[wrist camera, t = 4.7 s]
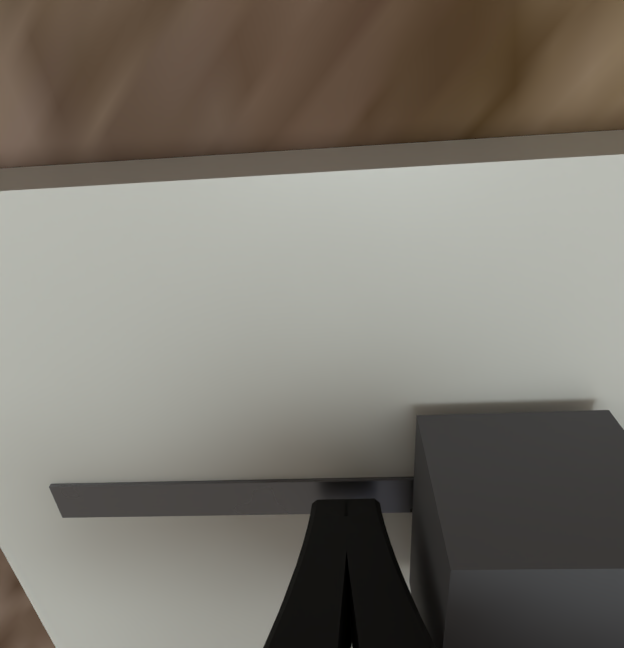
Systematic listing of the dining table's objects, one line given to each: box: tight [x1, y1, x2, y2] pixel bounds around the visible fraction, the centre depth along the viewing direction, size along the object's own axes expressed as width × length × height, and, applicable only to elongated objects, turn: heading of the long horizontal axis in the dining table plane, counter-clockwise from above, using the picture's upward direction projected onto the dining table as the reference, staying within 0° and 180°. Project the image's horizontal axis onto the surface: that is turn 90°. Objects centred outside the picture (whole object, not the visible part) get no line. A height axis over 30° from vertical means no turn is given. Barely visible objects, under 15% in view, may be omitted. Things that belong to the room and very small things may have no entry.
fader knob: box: [409, 410, 624, 648], centre depth 9 cm, size 5×4×3 cm
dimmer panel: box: [0, 130, 624, 648], centre depth 12 cm, size 14×26×2 cm, turn 94°
